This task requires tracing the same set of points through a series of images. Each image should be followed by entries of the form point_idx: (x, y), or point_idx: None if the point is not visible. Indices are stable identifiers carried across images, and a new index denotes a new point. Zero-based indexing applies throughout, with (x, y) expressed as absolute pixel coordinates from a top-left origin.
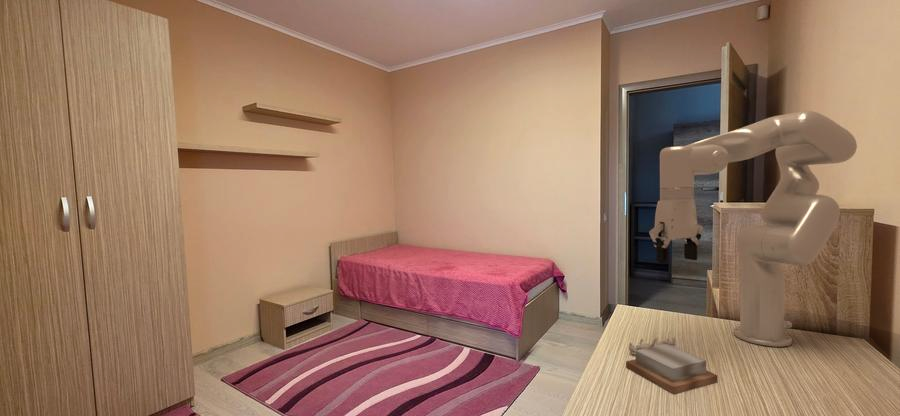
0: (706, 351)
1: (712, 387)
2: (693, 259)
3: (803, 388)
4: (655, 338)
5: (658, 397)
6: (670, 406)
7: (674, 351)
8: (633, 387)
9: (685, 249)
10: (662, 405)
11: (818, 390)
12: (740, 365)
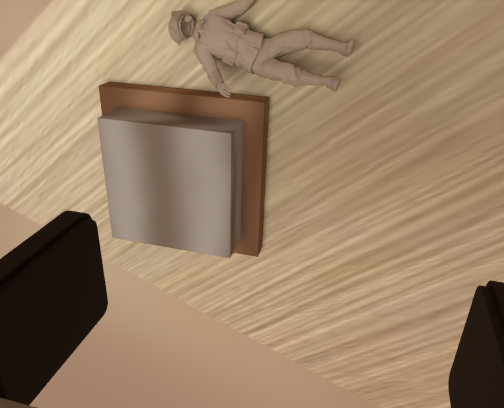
0: (446, 131)
1: None
2: (453, 372)
3: (407, 354)
4: (220, 91)
5: None
6: None
7: (200, 182)
8: (63, 163)
9: (500, 378)
10: None
11: (425, 372)
12: (420, 237)
